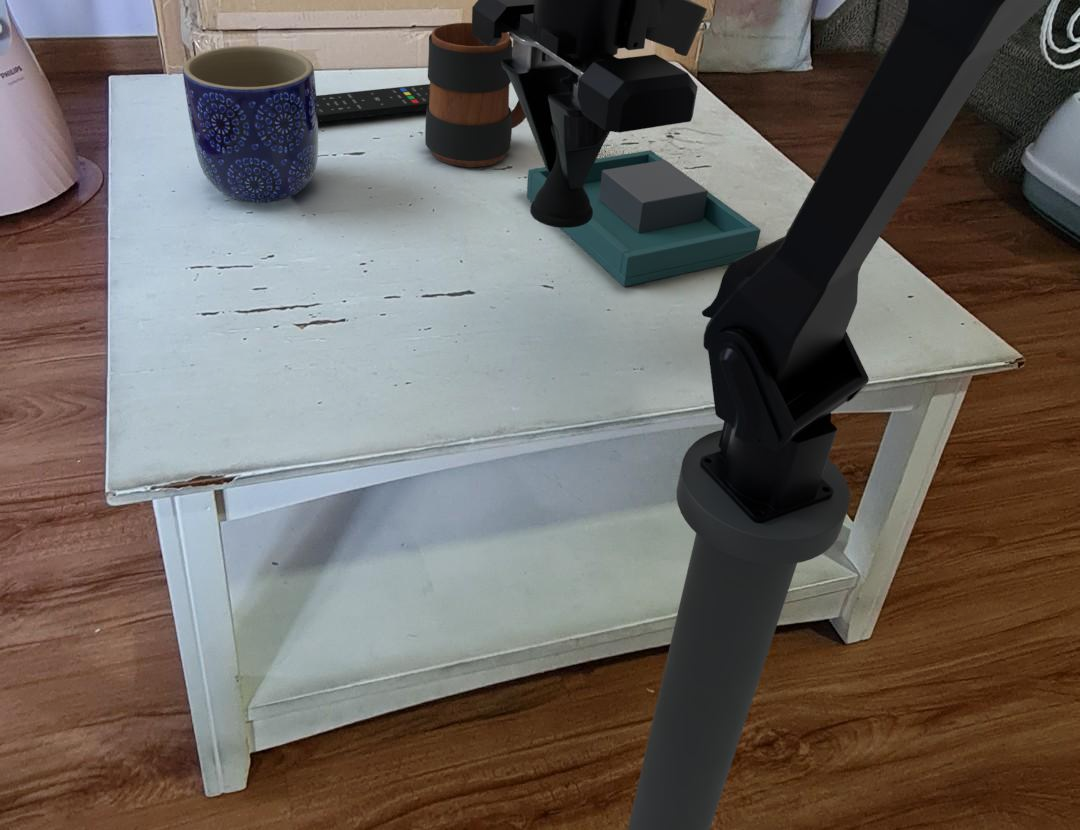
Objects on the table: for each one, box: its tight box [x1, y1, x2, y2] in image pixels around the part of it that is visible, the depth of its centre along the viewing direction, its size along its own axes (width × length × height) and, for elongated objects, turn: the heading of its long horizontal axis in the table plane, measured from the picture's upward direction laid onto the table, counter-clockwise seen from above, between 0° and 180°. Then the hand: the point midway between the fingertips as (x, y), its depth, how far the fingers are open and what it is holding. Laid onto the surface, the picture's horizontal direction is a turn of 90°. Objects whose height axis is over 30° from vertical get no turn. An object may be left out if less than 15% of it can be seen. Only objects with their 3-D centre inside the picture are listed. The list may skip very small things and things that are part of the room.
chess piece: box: [529, 72, 593, 229], centre depth 67 cm, size 4×4×10 cm
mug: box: [424, 22, 527, 168], centre depth 98 cm, size 9×12×12 cm
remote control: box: [316, 83, 430, 123], centre depth 107 cm, size 5×24×1 cm, turn 116°
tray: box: [526, 149, 761, 288], centre depth 90 cm, size 18×14×3 cm
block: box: [599, 159, 709, 233], centre depth 91 cm, size 7×7×3 cm
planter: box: [182, 45, 319, 204], centre depth 89 cm, size 11×11×11 cm
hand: (564, 179), depth 69 cm, fingers closed on chess piece, 2 cm apart
